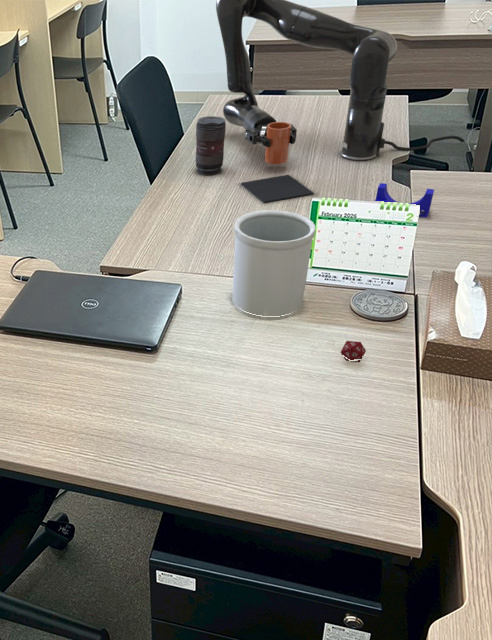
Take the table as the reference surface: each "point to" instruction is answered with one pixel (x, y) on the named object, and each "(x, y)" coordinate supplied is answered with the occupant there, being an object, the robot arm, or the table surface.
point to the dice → (353, 350)
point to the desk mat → (276, 188)
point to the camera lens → (210, 144)
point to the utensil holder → (271, 263)
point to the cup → (278, 142)
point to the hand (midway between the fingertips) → (281, 142)
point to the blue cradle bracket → (423, 202)
